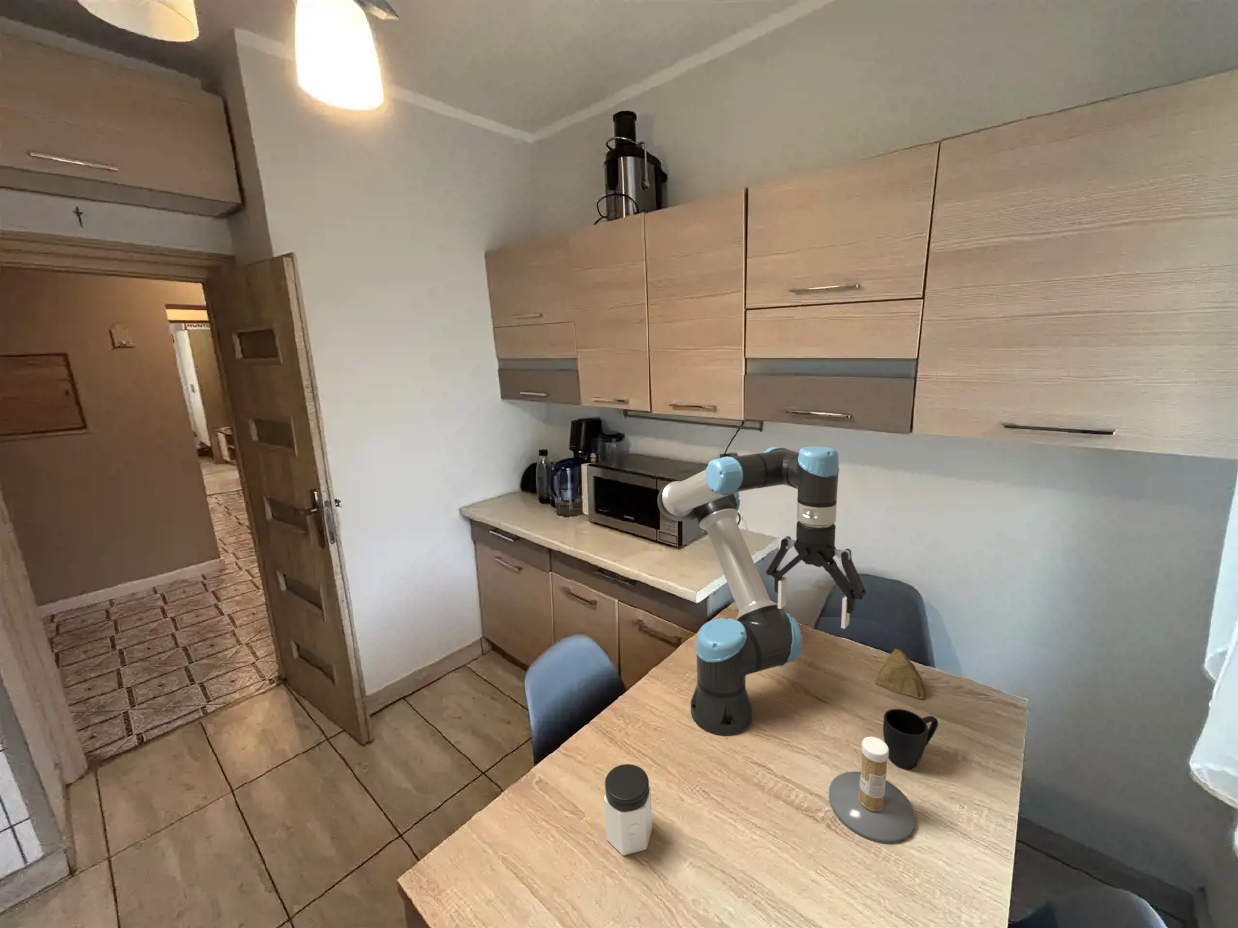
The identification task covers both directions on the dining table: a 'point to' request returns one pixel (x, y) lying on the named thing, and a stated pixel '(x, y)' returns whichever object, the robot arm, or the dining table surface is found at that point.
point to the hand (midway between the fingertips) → (812, 615)
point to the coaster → (874, 826)
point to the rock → (901, 676)
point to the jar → (628, 809)
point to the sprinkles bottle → (873, 773)
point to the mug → (907, 736)
